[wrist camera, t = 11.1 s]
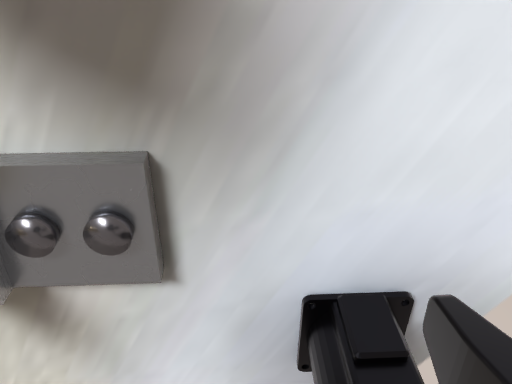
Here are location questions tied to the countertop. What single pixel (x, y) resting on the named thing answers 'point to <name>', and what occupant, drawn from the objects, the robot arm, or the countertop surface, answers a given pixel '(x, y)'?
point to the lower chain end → (79, 219)
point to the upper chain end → (4, 282)
